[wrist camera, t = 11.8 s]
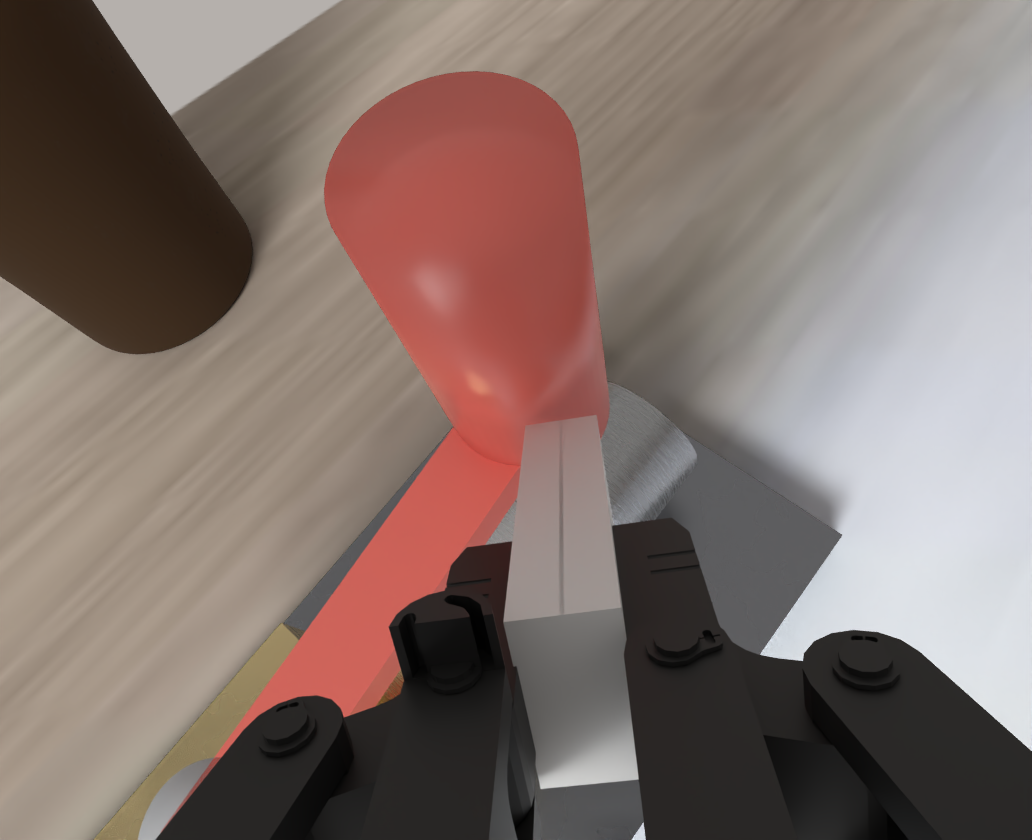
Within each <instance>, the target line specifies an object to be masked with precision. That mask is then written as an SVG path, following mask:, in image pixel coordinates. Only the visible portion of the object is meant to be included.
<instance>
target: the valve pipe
mask: <svg viewBox="0 0 1032 840" xmlns="http://www.w3.org/2000/svg"><path fill="white" fill-rule="evenodd" d="M607 384H608V392H609V402H610V410H609V418H608V422H607V426H606V429H605V431H604V434H603V436H602V438H601V446H602V453H603V459H604V466H605V472H606V478H607V485H608V491H609V498H610V504H611V511H612V517H613V523H614V525H620V524H627V523H635V522H642V521H650V520H657V519H665V518H673V519H674V520H675V521H677V522H678V523H679V524H681V525H682V526H683V527H684V528H686V529H687V530H688V531H689V532H690V535H691V538H692V541H693V545H694V548H695V552H696V554H697V557H698V560H699V563H700V568H701V570H702V573H703V576H704V579H705V582H706V585H707V589H708V592H709V595H710V598H711V601H712V604H713V607H714V611H715V614H716V617H717V620H718V623H719V625H720V627H721V628H722V629H724V630H725V632H726V633H727V635H728V636H729V638H730V639H731V641H732V642H733V643H735V644H737V645H738V646H740V647H742V648H743V649H745V650H748V651H750V652H753V653H756V654H759V655H760V653H761V652H762V650H763V649H764V647H765V646H766V645H767V643H768V642H769V640H770V639H771V637H772V636H773V634H774V633H775V632H776V630H777V629H778V627H779V626H780V624H781V623H782V621H783V620H784V619H785V617H786V616H787V614H788V613H789V611H790V610H791V608H792V607H793V606H794V604H795V603H796V601H797V600H798V598H799V597H800V595H801V594H802V593H803V591H804V590H805V588H806V587H807V585H808V584H809V582H810V581H811V580H812V578H813V577H814V575H815V574H816V572H817V571H818V570H819V568H820V567H821V565H822V564H823V562H824V561H825V559H826V558H827V557H828V555H829V554H830V552H831V551H832V549H833V548H834V546H835V545H836V544H837V542H838V541H839V539H840V538H841V536H842V534H840V533H838V532H837V531H835V530H834V529H832V528H831V527H829V526H828V525H826V524H824V523H823V522H821V521H820V520H818V519H817V518H815V517H814V516H812V515H811V514H809V513H807V512H806V511H804V510H803V509H801V508H800V507H798V506H797V505H795V504H794V503H792V502H790V501H789V500H787V499H786V498H784V497H783V496H781V495H780V494H778V493H776V492H775V491H773V490H772V489H770V488H769V487H767V486H766V485H764V484H763V483H761V482H759V481H758V480H756V479H755V478H753V477H752V476H750V475H749V474H747V473H745V472H744V471H742V470H741V469H739V468H738V467H736V466H735V465H733V464H732V463H730V462H728V461H727V460H725V459H724V458H722V457H721V456H719V455H718V454H716V453H714V452H713V451H711V450H710V449H708V448H707V447H705V446H704V445H702V444H701V443H699V442H697V441H696V440H694V439H693V438H691V437H690V436H688V435H687V434H685V433H684V432H682V431H680V430H679V428H678V427H677V426H676V425H675V424H674V423H673V422H672V421H671V420H669V419H668V418H667V417H666V416H665V415H664V414H663V413H661V412H660V411H659V410H658V409H656V408H655V407H654V406H652V405H651V404H650V403H648V402H647V401H646V400H644V399H643V398H641V397H640V396H638V395H636V394H635V393H633V392H631V391H629V390H628V389H626V388H624V387H622V386H619V385H617V384H615V383H612V382H609V381H607ZM450 431H451V430H450ZM450 431H449V432H450ZM449 432H448V434H449ZM448 434H447V435H448ZM447 435H446V436H447ZM446 436H445V437H444V438H443V439H442V441H441V442H440V443H439V444H438V445H437V446H436V447H435V449H434V450H433V451H432V452H431V453H430V454H429V456H428V457H427V458H426V459H425V460H424V461H423V463H422V464H421V465H420V466H419V467H418V468H417V469H416V471H415V472H414V473H413V474H412V475H411V476H410V478H409V479H408V480H407V481H406V482H405V483H404V485H403V486H402V487H401V488H400V489H399V490H398V491H397V493H396V494H395V495H394V496H393V497H392V498H391V500H390V501H389V502H388V503H387V504H386V505H385V507H384V508H383V509H382V510H381V511H380V512H379V513H378V515H377V516H376V517H375V518H374V519H373V520H372V522H371V523H370V524H369V525H368V526H367V527H366V528H365V530H364V531H363V532H362V533H361V534H360V535H359V537H358V538H357V539H356V540H355V541H354V542H353V544H352V545H351V546H350V547H349V548H348V549H347V550H346V552H345V553H344V554H343V555H342V556H341V557H340V559H339V560H338V561H337V562H336V563H335V564H334V566H333V567H332V568H331V569H330V570H329V571H328V572H327V574H326V575H325V576H324V577H323V578H322V579H321V581H320V582H319V583H318V584H317V585H316V586H315V588H314V589H313V590H312V591H311V592H310V593H309V594H308V596H307V597H306V598H305V599H304V600H303V601H302V603H301V604H300V605H299V606H298V607H297V608H296V610H295V611H294V612H293V613H292V614H291V615H290V616H289V618H288V619H287V620H286V621H285V622H284V623H281V624H280V625H279V626H278V627H277V628H276V629H275V630H274V632H273V633H272V634H271V635H270V636H269V637H268V639H267V640H266V641H265V642H264V643H263V644H262V646H261V647H260V648H259V649H258V650H257V651H256V652H255V654H254V655H253V656H252V657H251V658H250V659H249V661H248V662H247V663H246V664H245V665H244V666H243V667H242V669H241V670H240V671H239V672H238V673H237V674H236V676H235V677H234V678H233V679H232V680H231V681H230V683H229V684H228V685H227V686H226V687H225V688H224V689H223V691H222V692H221V693H220V694H219V695H218V696H217V698H216V699H215V700H214V701H213V702H212V703H211V704H210V706H209V707H208V708H207V709H206V710H205V711H204V713H203V714H202V715H201V716H200V717H199V718H198V720H197V721H196V722H195V723H194V724H193V725H192V726H191V728H190V729H189V730H188V731H187V732H186V733H185V735H184V736H183V737H182V738H181V739H180V740H179V741H178V743H177V744H176V745H175V746H174V747H173V748H172V750H171V751H170V752H169V753H168V754H167V755H166V756H165V758H164V759H163V760H162V761H161V762H160V763H159V765H158V766H157V767H156V768H155V769H154V770H153V772H152V773H151V774H150V775H149V776H148V777H147V778H146V780H145V781H144V782H143V783H142V784H141V785H140V787H139V788H138V789H137V790H136V791H135V792H134V793H133V795H132V796H131V797H130V798H129V799H128V800H127V802H126V803H125V804H124V805H123V806H122V807H121V809H120V810H119V811H118V812H117V813H116V814H115V815H114V817H113V818H112V819H111V820H110V821H109V822H108V824H107V825H106V826H105V827H104V828H103V829H102V830H101V832H100V833H99V834H98V835H97V836H96V837H95V839H94V840H138V836H139V832H140V828H141V825H142V822H143V819H144V817H145V814H146V812H147V810H148V808H149V806H150V804H151V802H152V801H153V799H154V797H155V796H156V794H157V793H158V792H159V790H160V789H161V788H162V787H163V786H164V784H165V783H166V782H167V781H168V780H169V779H170V778H171V777H173V776H174V775H175V774H176V773H178V772H179V771H180V770H182V769H183V768H185V767H187V766H188V765H191V764H193V763H195V762H197V761H201V760H204V759H208V758H214V757H215V756H216V755H217V753H218V752H219V750H220V749H221V748H222V746H223V745H224V743H225V742H226V741H227V739H228V738H229V737H230V735H231V734H232V732H233V731H234V730H235V728H236V727H237V725H238V724H239V723H240V721H241V720H242V719H243V717H244V716H245V714H246V713H247V712H248V710H249V709H250V708H251V706H252V705H253V703H254V702H255V701H256V699H257V698H258V696H259V695H260V694H261V692H262V691H263V690H264V688H265V687H266V685H267V684H268V683H269V681H270V680H271V678H272V677H273V676H274V674H275V673H276V672H277V670H278V669H279V667H280V666H281V665H282V663H283V662H284V660H285V659H286V658H287V656H288V655H289V654H290V652H291V651H292V649H293V648H294V647H295V645H296V644H297V642H298V641H299V640H300V638H301V637H302V636H303V634H304V633H305V631H306V630H307V629H308V627H309V626H310V624H311V623H312V622H313V620H314V619H315V618H316V616H317V615H318V613H319V612H320V611H321V609H322V608H323V607H324V605H325V604H326V602H327V601H328V600H329V598H330V597H331V595H332V594H333V593H334V591H335V590H336V589H337V587H338V586H339V584H340V583H341V582H342V580H343V579H344V577H345V576H346V575H347V573H348V572H349V571H350V569H351V568H352V566H353V565H354V564H355V562H356V561H357V559H358V558H359V557H360V555H361V554H362V553H363V551H364V550H365V548H366V547H367V546H368V544H369V543H370V541H371V540H372V539H373V537H374V536H375V535H376V533H377V532H378V530H379V529H380V528H381V526H382V525H383V524H384V522H385V521H386V519H387V518H388V517H389V515H390V514H391V512H392V511H393V510H394V508H395V507H396V506H397V504H398V503H399V501H400V500H401V499H402V497H403V496H404V494H405V493H406V492H407V490H408V489H409V488H410V486H411V485H412V483H413V482H414V481H415V479H416V478H417V476H418V475H419V474H420V472H421V471H422V470H423V468H424V467H425V465H426V464H427V463H428V461H429V460H430V458H431V457H432V456H433V454H434V453H435V452H436V450H437V449H438V447H439V446H440V445H441V443H442V442H443V440H444V439H445V438H446ZM516 505H517V499H516V500H515V501H514V503H513V504H512V506H511V507H510V509H509V510H508V512H507V513H506V515H505V516H504V518H503V519H502V521H501V522H500V524H499V525H498V527H497V528H496V529H495V531H494V532H493V534H492V535H491V537H490V538H489V540H488V541H487V543H486V544H485V545H488V544H495V543H503V542H510V541H512V540H513V531H514V522H515V514H516ZM403 682H404V679H403V675H402V672H401V670H400V671H399V673H398V674H397V676H396V677H395V678H394V680H393V681H392V683H391V684H390V686H389V687H388V689H387V690H386V692H385V693H384V695H383V696H382V698H381V699H380V701H379V702H378V704H377V705H376V706H378V705H380V704H382V703H384V702H387V701H389V700H391V699H393V698H394V697H396V696H398V695H399V694H400V693H401V689H402V686H403ZM534 794H535V799H536V803H537V807H538V812H539V817H540V822H541V839H540V840H631V839H632V838H633V836H634V835H635V833H636V832H637V831H638V829H639V828H640V826H641V825H642V823H643V822H644V819H643V811H642V802H641V794H640V786H639V779H638V780H628V781H618V782H607V783H597V784H587V785H577V786H567V787H556V788H546V789H541V788H540V783H539V779H538V774H537V770H536V765H535V791H534Z"/></svg>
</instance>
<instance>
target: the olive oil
mask: <svg viewBox="0 0 1032 840" xmlns="http://www.w3.org/2000/svg"><path fill="white" fill-rule="evenodd" d="M251 260H252V242H251V237H250V233H249V230H248V228H247V226H246V224H245V222H244V220H243V218H242V217H241V215H240V214H239V212H238V211H237V209H236V208H235V207H234V205H233V204H232V202H231V201H230V200H229V198H228V197H227V195H226V194H225V193H224V191H223V190H222V188H221V187H220V186H219V184H218V183H217V182H216V180H215V179H214V177H213V176H212V175H211V173H210V172H209V170H208V169H207V168H206V166H205V165H204V163H203V162H202V161H201V159H200V158H199V156H198V155H197V154H196V152H195V151H194V149H193V148H192V146H191V145H190V144H189V142H188V141H187V139H186V138H185V136H184V135H183V133H182V132H181V131H180V129H179V128H178V126H177V125H176V123H175V122H174V120H173V119H172V117H171V116H170V114H169V113H168V112H167V110H166V109H165V107H164V106H163V104H162V103H161V101H160V100H159V99H158V97H157V96H156V94H155V93H154V91H153V90H152V88H151V87H150V85H149V84H148V82H147V81H146V79H145V78H144V76H143V75H142V74H141V72H140V71H139V69H138V68H137V66H136V65H135V63H134V62H133V60H132V59H131V58H130V56H129V54H128V53H127V52H126V50H125V49H124V47H123V46H122V44H121V43H120V41H119V40H118V38H117V37H116V35H115V34H114V32H113V31H112V29H111V28H110V26H109V25H108V23H107V22H106V20H105V19H104V17H103V16H102V14H101V13H100V11H99V10H98V8H97V7H96V5H95V4H94V2H93V1H92V0H0V277H2V278H3V279H5V280H6V281H8V282H9V283H11V284H12V285H14V286H15V287H17V288H18V289H20V290H21V291H23V292H24V293H26V294H27V295H29V296H30V297H32V298H33V299H35V300H36V301H38V302H39V303H40V304H42V305H43V306H45V307H46V308H48V309H49V310H51V311H52V312H54V313H55V314H56V315H58V316H59V317H61V318H62V319H64V320H65V321H67V322H68V323H70V324H71V325H72V326H74V327H75V328H77V329H78V330H80V331H81V332H83V333H84V334H86V335H87V336H89V337H90V338H92V339H93V340H95V341H96V342H98V343H99V344H101V345H103V346H105V347H107V348H110V349H112V350H115V351H118V352H123V353H129V354H148V353H155V352H160V351H164V350H167V349H171V348H173V347H176V346H179V345H181V344H183V343H185V342H187V341H189V340H191V339H193V338H195V337H197V336H198V335H200V334H201V333H203V332H204V331H206V330H207V329H208V328H210V327H211V326H212V325H213V324H214V323H216V322H217V321H218V320H219V319H220V318H221V317H222V316H223V315H224V314H225V313H226V311H227V310H228V309H229V308H230V307H231V305H232V304H233V303H234V301H235V300H236V298H237V297H238V295H239V294H240V292H241V290H242V288H243V286H244V284H245V282H246V279H247V277H248V274H249V270H250V266H251Z"/></svg>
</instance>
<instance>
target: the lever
mask: <svg viewBox="0 0 1032 840" xmlns="http://www.w3.org/2000/svg"><path fill="white" fill-rule="evenodd" d="M324 197H325V207H326V212H327V216H328V219H329V222H330V224H331V227H332V229H333V230H334V232H335V234H336V236H337V237H338V239H339V241H340V242H341V244H342V245H343V247H344V249H345V250H346V252H347V254H348V255H349V257H350V259H351V260H352V262H353V263H354V265H355V267H356V268H357V270H358V272H359V273H360V275H361V277H362V278H363V280H364V281H365V283H366V285H367V286H368V288H369V290H370V291H371V293H372V294H373V296H374V298H375V299H376V301H377V303H378V304H379V306H380V308H381V309H382V311H383V312H384V314H385V316H386V317H387V319H388V321H389V322H390V324H391V325H392V327H393V329H394V330H395V332H396V334H397V335H398V337H399V339H400V340H401V342H402V343H403V345H404V347H405V348H406V350H407V352H408V353H409V355H410V356H411V358H412V360H413V361H414V363H415V365H416V366H417V368H418V370H419V371H420V373H421V374H422V376H423V378H424V379H425V381H426V383H427V384H428V386H429V387H430V389H431V391H432V392H433V394H434V396H435V397H436V399H437V401H438V402H439V404H440V405H441V407H442V409H443V410H444V412H445V414H446V415H447V417H448V418H449V420H450V422H451V423H452V425H453V428H452V429H451V431H450V432H449V434H448V435H447V436H446V438H445V439H444V440H443V442H442V443H441V445H440V446H439V447H438V449H437V450H436V452H435V453H434V454H433V456H432V457H431V458H430V460H429V461H428V463H427V464H426V465H425V467H424V468H423V470H422V471H421V472H420V474H419V475H418V476H417V478H416V479H415V481H414V482H413V483H412V485H411V486H410V488H409V489H408V490H407V492H406V493H405V494H404V496H403V497H402V499H401V500H400V501H399V503H398V504H397V506H396V507H395V508H394V510H393V511H392V512H391V514H390V515H389V517H388V518H387V519H386V521H385V522H384V524H383V525H382V526H381V528H380V529H379V530H378V532H377V533H376V535H375V536H374V537H373V539H372V540H371V541H370V543H369V544H368V546H367V547H366V548H365V550H364V551H363V553H362V554H361V555H360V557H359V558H358V559H357V561H356V562H355V564H354V565H353V566H352V568H351V569H350V571H349V572H348V573H347V575H346V576H345V577H344V579H343V580H342V582H341V583H340V584H339V586H338V587H337V589H336V590H335V591H334V593H333V594H332V595H331V597H330V598H329V600H328V601H327V602H326V604H325V605H324V607H323V608H322V609H321V611H320V612H319V613H318V615H317V616H316V618H315V619H314V620H313V622H312V623H311V624H310V626H309V627H308V629H307V630H306V631H305V633H304V634H303V636H302V637H301V638H300V640H299V641H298V642H297V644H296V645H295V647H294V648H293V649H292V651H291V652H290V654H289V655H288V656H287V658H286V659H285V660H284V662H283V663H282V665H281V666H280V667H279V669H278V670H277V672H276V673H275V674H274V676H273V677H272V678H271V680H270V681H269V683H268V684H267V685H266V687H265V688H264V690H263V691H262V692H261V694H260V695H259V696H258V698H257V699H256V701H255V702H254V703H253V705H252V706H251V708H250V709H249V710H248V712H247V713H246V714H245V716H244V717H243V719H242V720H241V721H240V723H239V724H238V725H237V727H236V728H235V730H234V731H233V732H232V734H231V735H230V737H229V738H228V739H227V741H226V742H225V743H224V745H223V746H222V748H221V749H220V750H219V752H218V753H217V755H216V756H215V757H214V758H208V759H204V760H201V761H197V762H195V763H193V764H191V765H188V766H187V767H185V768H183V769H182V770H180V771H179V772H178V773H176V774H175V775H174V776H173V777H171V778H170V779H169V780H168V781H167V782H166V783H165V784H164V786H163V787H162V788H161V789H160V790H159V792H158V793H157V794H156V796H155V797H154V799H153V801H152V802H151V804H150V806H149V808H148V810H147V812H146V814H145V817H144V819H143V822H142V825H141V828H140V832H139V836H138V840H155V839H156V838H157V837H158V836H159V834H160V833H161V832H162V831H163V830H164V828H165V827H166V826H167V825H168V823H169V822H170V821H171V820H172V818H173V817H174V816H175V815H176V813H177V812H178V811H179V810H180V808H181V807H182V806H183V805H184V803H185V802H186V801H187V800H188V798H189V797H190V796H191V795H192V793H193V792H194V791H195V790H196V788H197V787H198V786H199V785H200V783H201V782H202V781H203V780H204V778H205V777H206V776H207V775H208V773H209V772H210V771H211V770H212V769H213V767H214V766H215V765H216V764H217V762H218V761H219V760H220V759H221V757H222V756H223V755H224V754H225V752H226V751H227V750H228V749H229V747H230V746H231V745H232V744H233V742H234V741H235V740H236V739H237V737H238V736H239V735H240V734H241V732H242V731H243V730H244V729H245V728H246V727H247V726H248V725H249V724H250V723H251V722H252V721H253V720H254V719H255V718H256V717H257V716H258V715H260V714H262V713H263V712H265V711H267V710H268V709H270V708H272V707H273V706H275V705H277V704H278V703H281V702H284V701H287V700H290V699H293V698H296V697H302V696H314V695H318V696H321V697H325V698H329V699H332V700H333V701H334V702H335V703H336V704H337V705H338V706H339V707H340V708H341V710H342V713H343V716H344V717H347V716H349V715H352V714H355V713H358V712H361V711H364V710H367V709H369V708H372V707H375V706H376V705H377V704H378V702H379V701H380V699H381V698H382V696H383V695H384V693H385V692H386V690H387V689H388V687H389V686H390V684H391V683H392V681H393V680H394V678H395V677H396V676H397V674H398V673H399V671H400V670H401V668H400V665H399V661H398V658H397V654H396V651H395V647H394V644H393V640H392V637H391V634H390V630H389V625H390V624H391V622H392V621H393V619H394V617H395V616H396V614H397V613H399V612H400V611H401V610H402V609H404V608H405V607H406V606H407V605H409V604H410V603H412V602H414V601H416V600H418V599H420V598H422V597H424V596H426V595H429V594H433V593H437V592H441V591H445V588H447V585H446V583H447V579H448V575H449V571H450V567H451V565H452V563H453V562H454V561H455V560H456V559H457V558H458V557H459V556H460V554H461V553H462V552H463V551H464V550H465V549H466V548H467V547H473V546H480V545H485V544H486V543H487V541H488V540H489V538H490V537H491V535H492V534H493V532H494V531H495V529H496V528H497V527H498V525H499V524H500V522H501V521H502V519H503V518H504V516H505V515H506V513H507V512H508V510H509V509H510V507H511V506H512V504H513V503H514V501H515V500H516V499H517V496H518V487H519V478H520V469H521V460H522V451H523V442H524V433H525V426H526V425H532V424H539V423H545V422H552V421H559V420H565V419H572V418H578V417H585V416H592V415H597V421H598V427H599V434H600V440H601V438H602V436H603V434H604V431H605V429H606V426H607V422H608V418H609V410H610V402H609V392H608V384H607V376H606V367H605V359H604V351H603V343H602V335H601V327H600V319H599V311H598V303H597V295H596V287H595V279H594V271H593V262H592V254H591V246H590V238H589V230H588V222H587V214H586V206H585V198H584V190H583V182H582V174H581V166H580V158H579V149H578V144H577V139H576V134H575V132H574V129H573V127H572V124H571V122H570V120H569V119H568V117H567V115H566V114H565V112H564V111H563V110H562V108H561V107H560V106H559V105H558V104H557V103H556V101H554V100H553V99H552V98H551V97H550V96H549V95H547V94H546V93H545V92H543V91H542V90H540V89H539V88H537V87H536V86H534V85H532V84H530V83H527V82H525V81H523V80H521V79H518V78H514V77H511V76H508V75H503V74H498V73H492V72H479V71H473V72H456V73H449V74H443V75H439V76H434V77H430V78H427V79H424V80H421V81H418V82H415V83H413V84H411V85H408V86H406V87H404V88H401V89H399V90H398V91H396V92H394V93H392V94H390V95H389V96H387V97H385V98H384V99H382V100H381V101H380V102H378V103H377V104H375V105H374V106H373V107H371V108H370V109H369V110H368V111H367V112H365V113H364V114H363V115H362V116H361V117H360V118H359V119H358V120H357V121H356V122H355V123H354V124H353V125H352V126H351V128H350V129H349V130H348V132H347V133H346V134H345V135H344V137H343V138H342V140H341V142H340V143H339V145H338V147H337V148H336V150H335V152H334V154H333V157H332V159H331V161H330V164H329V167H328V171H327V174H326V180H325V188H324Z"/></svg>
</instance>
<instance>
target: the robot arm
mask: <svg viewBox="0 0 1032 840" xmlns="http://www.w3.org/2000/svg"><path fill="white" fill-rule="evenodd" d="M446 585H447V588H445V591H441V592H437V593H433V594H429V595H426V596H424V597H422V598H420V599H418V600H416V601H414V602H412V603H410V604H409V605H407V606H406V607H405V608H404V609H402V610H401V611H400V612H399V613H397V614H396V616H395V617H394V619H393V621H392V622H391V624H390V625H389V630H390V634H391V637H392V640H393V644H394V647H395V651H396V654H397V658H398V661H399V665H400V668H401V672H402V675H403V679H404V682H403V686H402V689H401V693H400V694H399V695H398V696H396V697H394V698H393V699H391V700H389V701H387V702H384V703H382V704H380V705H378V706H375V707H372V708H369V709H367V710H364V711H361V712H358V713H355V714H352V715H349V716H347V717H344V716H343V713H342V710H341V708H340V707H339V706H338V705H337V704H336V703H335V702H334V701H333V700H332V699H329V698H325V697H321V696H318V695H314V696H302V697H296V698H293V699H290V700H287V701H284V702H281V703H278V704H277V705H275V706H273V707H272V708H270V709H268V710H267V711H265V712H263V713H262V714H260V715H258V716H257V717H256V718H255V719H254V720H253V721H252V722H251V723H250V724H249V725H248V726H247V727H246V728H245V729H244V730H243V731H242V732H241V734H240V735H239V736H238V737H237V739H236V740H235V741H234V742H233V744H232V745H231V746H230V747H229V749H228V750H227V751H226V752H225V754H224V755H223V756H222V757H221V759H220V760H219V761H218V762H217V764H216V765H215V766H214V767H213V769H212V770H211V771H210V772H209V773H208V775H207V776H206V777H205V778H204V780H203V781H202V782H201V783H200V785H199V786H198V787H197V788H196V790H195V791H194V792H193V793H192V795H191V796H190V797H189V798H188V800H187V801H186V802H185V803H184V805H183V806H182V807H181V808H180V810H179V811H178V812H177V813H176V815H175V816H174V817H173V818H172V820H171V821H170V822H169V823H168V825H167V826H166V827H165V828H164V830H163V831H162V832H161V833H160V834H159V836H158V837H157V838H156V839H155V840H540V839H541V822H540V817H539V812H538V807H537V803H536V799H535V794H534V791H535V765H536V770H537V774H538V779H539V783H540V788H541V789H546V788H556V787H567V786H577V785H587V784H597V783H607V782H618V781H628V780H638V779H639V786H640V794H641V802H642V811H643V819H644V827H645V836H646V840H1032V751H1031V750H1030V749H1028V748H1027V747H1026V746H1025V745H1024V744H1023V743H1022V742H1021V741H1019V740H1018V739H1017V738H1016V737H1015V736H1014V735H1013V734H1012V733H1010V732H1009V731H1008V730H1007V729H1006V728H1005V727H1004V726H1003V725H1001V724H1000V723H999V722H998V721H997V720H996V719H995V718H994V717H992V716H991V715H990V714H989V713H988V712H987V711H986V710H985V709H983V708H982V707H981V706H980V705H979V704H978V703H977V702H976V701H974V700H973V699H972V698H971V697H970V696H969V695H968V694H967V693H965V692H964V691H963V690H962V689H961V688H960V687H959V686H958V685H956V684H955V683H954V682H953V681H952V680H951V679H950V678H949V677H947V676H946V675H945V674H944V673H943V672H942V671H941V670H940V669H938V668H937V667H936V666H935V665H934V664H933V663H932V662H931V661H929V660H928V659H927V658H926V657H925V656H924V655H923V654H922V653H920V652H919V651H918V650H916V649H914V648H913V647H911V646H910V645H908V644H907V643H905V642H903V641H902V640H900V639H897V638H894V637H891V636H888V635H885V634H881V633H878V632H869V631H858V630H851V631H844V632H837V633H831V634H829V635H827V636H825V637H823V638H820V639H818V640H816V641H814V642H813V644H812V645H811V646H810V647H809V648H808V649H807V651H806V652H805V653H804V658H803V661H796V660H787V659H778V658H773V657H767V656H762V655H759V654H756V653H753V652H750V651H748V650H745V649H743V648H742V647H740V646H738V645H737V644H735V643H733V642H732V641H731V639H730V638H729V636H728V635H727V633H726V632H725V630H724V629H722V628H721V627H720V625H719V623H718V620H717V617H716V614H715V611H714V607H713V604H712V601H711V598H710V595H709V592H708V589H707V585H706V582H705V579H704V576H703V573H702V570H701V568H700V563H699V560H698V557H697V554H696V552H695V548H694V545H693V541H692V538H691V535H690V532H689V531H688V530H687V529H686V528H684V527H683V526H682V525H681V524H679V523H678V522H677V521H675V520H674V519H673V518H665V519H657V520H650V521H642V522H635V523H627V524H620V525H614V523H613V517H612V511H611V504H610V498H609V491H608V485H607V478H606V472H605V466H604V459H603V453H602V446H601V440H600V434H599V427H598V421H597V415H592V416H585V417H578V418H572V419H565V420H559V421H552V422H545V423H539V424H532V425H526V426H525V433H524V442H523V451H522V460H521V469H520V478H519V487H518V496H517V505H516V514H515V522H514V531H513V540H512V541H510V542H503V543H495V544H488V545H480V546H473V547H467V548H466V549H465V550H464V551H463V552H462V553H461V554H460V556H459V557H458V558H457V559H456V560H455V561H454V562H453V563H452V565H451V567H450V571H449V575H448V579H447V583H446Z"/></svg>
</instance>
